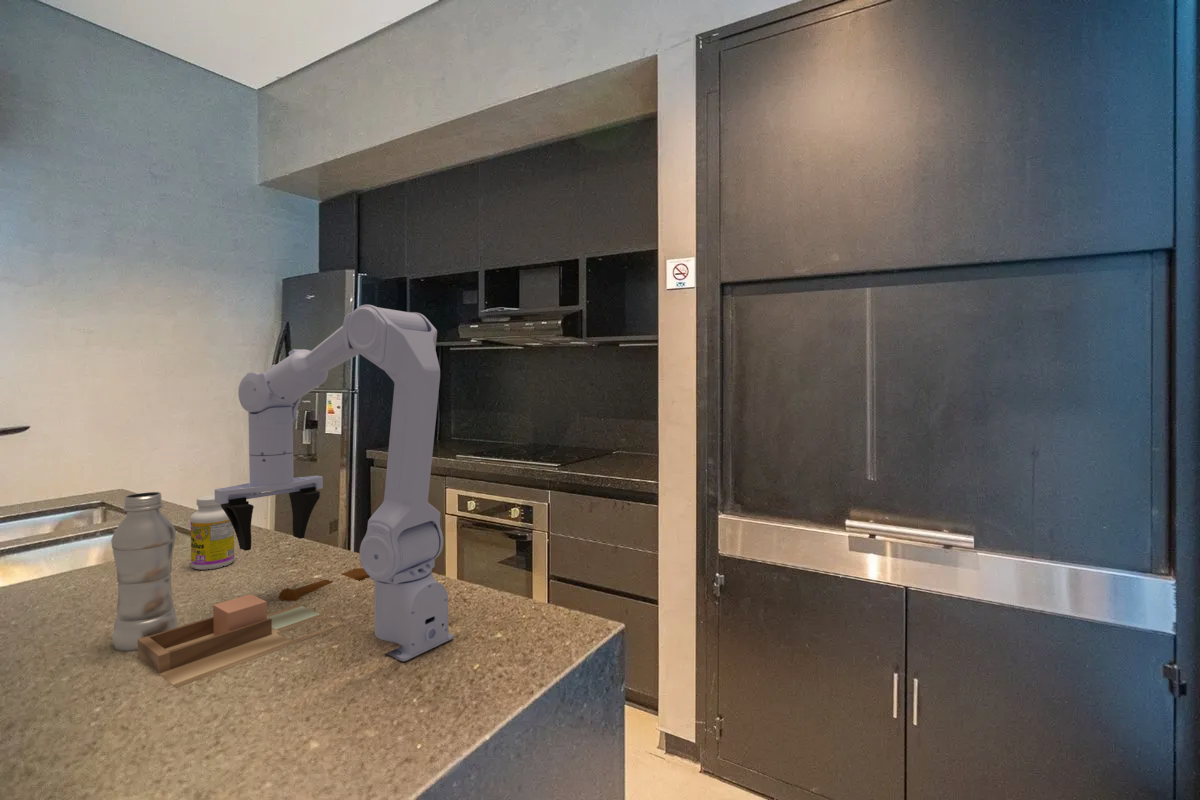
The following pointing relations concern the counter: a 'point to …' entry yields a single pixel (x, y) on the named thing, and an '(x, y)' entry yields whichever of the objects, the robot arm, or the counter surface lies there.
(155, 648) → the board
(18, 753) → the counter surface
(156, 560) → the plastic bottle
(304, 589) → the primitive tool
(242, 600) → the block
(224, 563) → the supplement bottle
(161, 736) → the counter surface
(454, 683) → the counter surface
